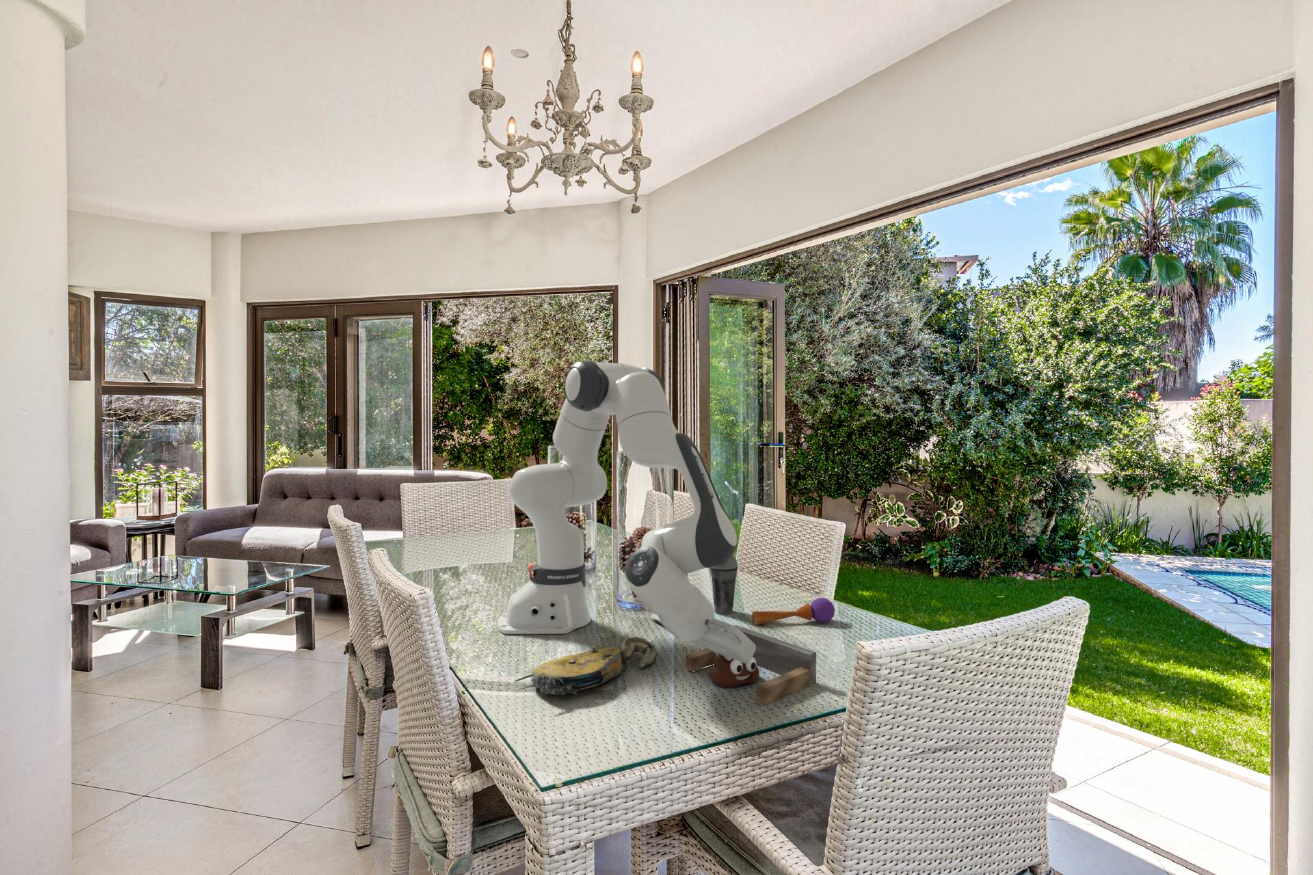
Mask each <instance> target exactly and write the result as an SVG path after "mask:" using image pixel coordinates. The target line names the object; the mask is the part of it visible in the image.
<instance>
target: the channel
mask: <svg viewBox="0 0 1313 875" xmlns="http://www.w3.org/2000/svg"><path fill="white" fill-rule="evenodd" d="M733 626H735V627H736V628H738V629H739V630H740V631H742V632H743V633H744V634H745V635H746V636H747V637H748V638H749V639H750V640H751V641H752V642H753V643H754V644H755V646H756V650H755V652H754V654H753V656H752V657H753V658H754V659H755V660H756V665H757V667H760V668H763V669H765V670H769V671H771V672H773V673H776V674H779V675H778V676H777V677H776V676H775V677H773V678H771V679H768V680H766V681H764V682H761V683H759V684H757V685H756V702H757V703H760V704H762V705H764V706H767V705H768V704H769V705H770V704H771V703H773V702H775V701H778V700H780V699H782V698H785V697H788V696H790V695H792V694H794V693H796V692H798V691H800V690H804V689H805V688H807V687H809V686H811V685H814V684H816V683H817V651H814V650H810V649H808V648H805V647H803V646H799V645H797V644H793V643H790V642H787V641H785V640H781V639H779V638H775V637H773V636H769V635H767V634H763V633H760V632H758V631H755V630H752V629H749V628H746V627H745V626H744V627H743V626H740V625H738V624H734V625H733ZM715 656H716V654H715V653H714V652H713V651H711V650H709V649H707V648H704V649H701V650H697V651H695V652H691V653H688V654H686V655H685V670H686V669H687V670H689V671H692V672H693V671H696V672H698V671H697V670H698V669H701V668H703V667H706V666H709V665H713V664H714V658H715ZM687 670H686V671H687ZM689 671H688V672H689ZM692 672H691V673H692ZM693 673H694V672H693Z"/></svg>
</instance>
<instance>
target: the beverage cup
mask: <svg viewBox="0 0 1313 875" xmlns="http://www.w3.org/2000/svg"><path fill="white" fill-rule="evenodd" d="M738 568H739V566H738V561H737V559H736V557H735V555H733V556H732V558H731V559H730V561H729V562H728V563H727V564H725V565H720V566H715V567H710V568H709V571H710V572H709V573H710V576H711V583H712V584H711V586H712V598H713V607H714V614H718V615H724V616H725V615H731V614H733V607H734V602H735V601H734V600H735V592H736V590H735V589H736V582H737V581H736V578H737V573H738Z"/></svg>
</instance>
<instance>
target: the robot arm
mask: <svg viewBox="0 0 1313 875" xmlns="http://www.w3.org/2000/svg"><path fill="white" fill-rule="evenodd" d="M564 395H565V399H564V402H563V403H562V407H561V409H560V414H559V416H558V419H557V422H556V425H555V429H554V430H553V434H552V442H553V445H554V448H555V449H556V451H558V453H559V454H561V456H563V457H562V459H561V460H560V461H559V462H555V463H544V464H543V463H542V464H535V465H531V466H527V467H525V468H521V469H520V470H517V471H516V472H515V473H514V474H513V476H512V478H511V480H510V484H509V493H510V494H509V495H510V498H511V501H512V502H513V503H514V505H515V506H516V507H517V509H520V511H522V512H523V513H524V514H526V515H527V517H528V519H530V522H531V523H532V525H533V528H534V530H535V535H536V544H537V561H538V562H537V563H536V564H535V563H530V564H528V566H527V571H528V572H529V581H528V582H527V583H525V584H524V585H522V587H520V588H519V589H517V591H515V592H514V593H513V594H512V595H511V596H510V597H509V600H508V604H507V607H506V612H504V613H503V614H501V615H500V616H499V617H498V619H497V627H496V628H497V630H498V631H499V632H500V633H502V634H504V635H540V634H541V635H553V634H555V635H556V634H557V635H558V634H559V635H560V634H561V635H564V634H568V633H570V632H572V631H573V630H576V629H578V628H579V629H580V628H582V627H585V626H586V625H588V624H589V623H590V622H591V620H592V617H591V615H590V611H589V607H588V602H587V595H586V594H587V593H586V585H587V584H586V583H587V567H586V563H585V561H584V560H585V558H584V549H585V548H584V534H583V531H582V530H581V528H579V526H577V525H576V524H574V523H572V522H570V521H569V520H568V518H567V514H566V508H573V507H580V506H586V505H589V504H591V503H594V502H596V501H599V500H600V499H602V498H603V497H604V495H605V494H606V493H607V489H608V479H607V474H606V471H605V470H604V469H603V467H602V466H601V465H600V464H599V461H598V457H599V456H598V455H599V450H600V447H601V443H602V440H603V437H604V435H605V431H606V428H607V426H608V423H609V421H610V417H611V416H614V415H615V420H616V421H615V422H616V427H617V431H618V438H619V443H620V446H621V449H622V451H623V453H624V455H625V456H626V457H627V458H628V459H629V460H630V461H631V462H634V463H635V464H637V465H639V466H641V467H642V466H643V467H647V468H651V469H675V470H677V472H679V473H680V475H681V477H682V479H683V482H684V484H685V487H686V489H687V491H688V494H689V497H690V499H691V502H692V504H693V506H694V510H693V513H692V514H691V515H690V516H688V517H685V518H682V519H679V520H677V521H676V520H675V521H673V522H671V523H667V524H664V525H661V526H658V527H656V528H653V529H651V530H649V531H647V532H645V533H644V534H643V536H642V538H641V539H640V542H639V546H638V549H635V551H634V552H632V553H631V555H630V556H629V557H628V559H627V562H626V564H625V567H624V575H625V580H626V582H627V583H628V586H629V588H630V589H631V591H632V592H633V593H634V595H635V597H637V599H638V600H639V601H640V602H641V603H642V605H644V607H646V608H647V610H648V611H650V612H651V615H650V620H651V621H652V622H653V623H655V624H656V625H657V626H660V627H662V628H664V630H666V631H667V632H668V633H670V634H671V635H673V636H674V637H675V638H676V639H678V641H681V642H688V643H692V644H694V645H696V646H699V647H702V648H704V649H706V648H707V649H709V650H711V651H713V652H714V653H715V654H716V655H717V656H719V657H722V658H724V659H727V660H729V661H730V660H731V658H732V659H735V660H737V661H740V662H742V663H745V664H747V663H748V662H749V661H750V659H751V658H752V656H753V654H754V652H755V650H756V646H755V644H754V643H753V642H752V641H751V640H750V639H749V638H748V637H747V636H746V635H745V634H744V633H743V632H742V631H740V630H739V629H738V628H736V627H735V626H734V625H733V624H731V623H729V622H726V621H722V620H720V619H717V618H715V608H714V604H712V602H711V601H710V600H709V599H708V598H707V597H706V596H705V595H704V593H702V591H701V590H700V589H699V588H698V587H697V586H695V585H694V584H692V583H691V582H690V580H689V578H688V576H689V575H688V574H690V573H691V574H692V573H695V572H697V571H700V570H704V569H710V567H715V566H720V565H725V564H727V563H728V562H729V561H730V559H731V558H732V556H735V552H736V550H737V548H738V544H739V540H738V534H737V532H736V529H735V527H734V525H733V522H732V520H731V519H730V517H729V515H728V512H726V510H725V508H724V506H723V504H722V501H721V499H720V497H719V494H718V493H717V490H716V488H715V486H714V482H713V481H712V477H711V476H710V474H709V471H708V469H707V466H706V464H705V462H704V460H703V457H702V455H701V453H700V451H699V448H698V447H697V446H696V444H695V442H694V441H693V440H692V439H691V437H689V435H688V434H685V433H681V432H679V430H677V428H676V426H675V424H674V421H673V418H672V413H671V408H670V406H669V403H668V400H667V397H666V394H665V386H664V382H663V380H662V377H661V375H660V374H659V373H658V372H656V371H654V370H652V369H649V368H647V367H639V366H635V365H632V364H631V365H630V364H626V363H621V362H620V363H619V362H615V363H614V362H601V361H599V362H595V361H593V360H584V361H583V360H582V361H577V362H575V363H574V364H573V365H572V366H571V367H570V369H569V370H568V371H567V374H566V376H565V380H564Z"/></svg>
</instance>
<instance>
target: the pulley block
mask: <svg viewBox="0 0 1313 875" xmlns="http://www.w3.org/2000/svg"><path fill="white" fill-rule="evenodd" d="M635 653H639V654H642V655H643V656H642V657H641V658H640V660H639V662H638V666H639V667H640V668H645V667H646V666H649V665H652V664H653V663H655V661H657V657H658V655H659V653H658V651H657V649H656V647H655V646H654V644H652V643H651V642H650V641H649V640H647V639H646V638H643V637H638V636H637V637H629V638H627V639H626V638H625V639H624V641H623V642H622V643H621V645H620V647H613V646H612V647H603V648H598V649H597V648H595V647H592V649H591V650H589V651H584V652H579V653H574V654H570V655H566V656H563V657H562V656H561V657H559V658H556V659H552V660H548V661H546V662H545V661H544V662H543V663H540V664H539V665H536V666H535V667H534V669H533V671H532V674H530V675H526V676H523V677H520V678H518V679H515V680H514V682H519V681H522V680H525V679H528V678H531V680H530V682H531V683H532V685H533V688H538V689H539V691H540V693H541V694H545V695H548V694H551V695H562V696H564V695H567V693H569V694H575V695H576V696H578V693H577V692H579V691H583V690H587V689H590V688H594V687H597V686H600V685H603V683H605V682H607V681H609V680H610V681H611V679H614V677H617V676H619V675H621V674H623V673H624V672H626V670H625V669H624V668H623V666H624V665H626V666H628V665H629V664H630V661H631V659H632V658H633V657H634V656H635Z"/></svg>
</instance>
